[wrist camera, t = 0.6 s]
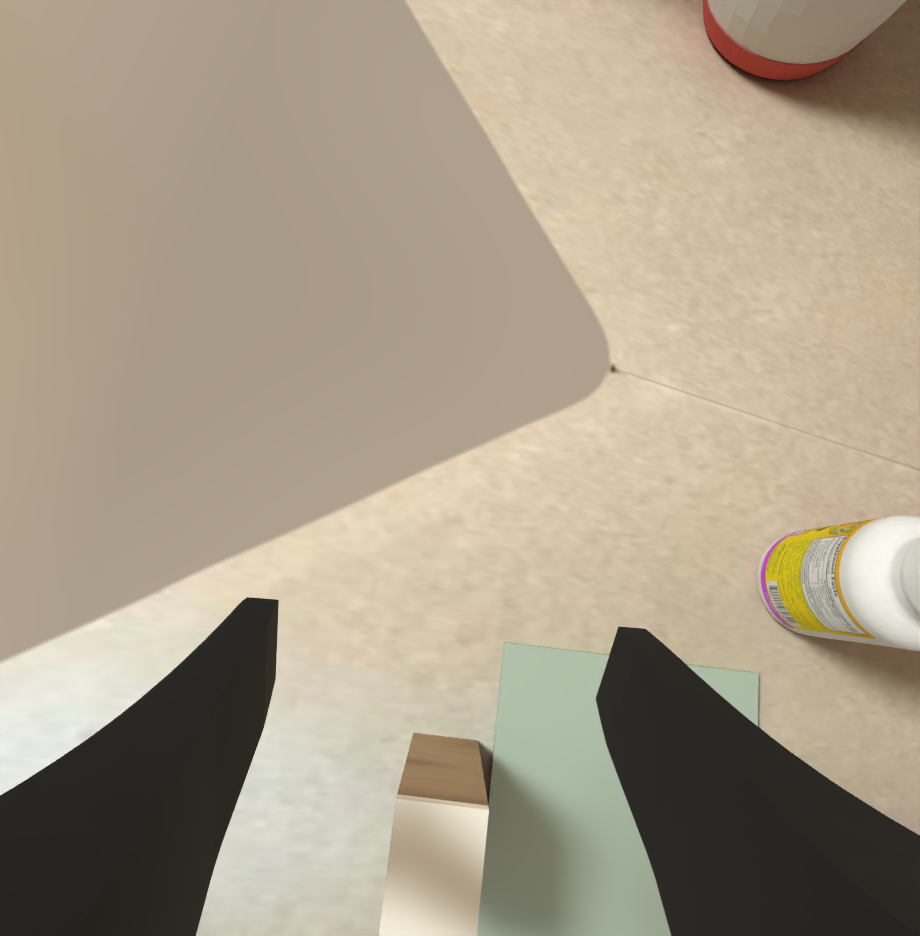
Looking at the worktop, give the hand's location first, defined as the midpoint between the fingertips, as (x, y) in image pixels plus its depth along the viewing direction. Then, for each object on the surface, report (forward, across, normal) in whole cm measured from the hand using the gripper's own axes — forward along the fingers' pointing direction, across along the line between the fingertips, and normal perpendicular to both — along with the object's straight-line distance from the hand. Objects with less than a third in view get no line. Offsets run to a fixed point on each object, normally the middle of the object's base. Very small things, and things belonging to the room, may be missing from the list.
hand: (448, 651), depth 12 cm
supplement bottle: (+20, -26, +10) cm, 34 cm away
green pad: (+13, -15, +22) cm, 30 cm away
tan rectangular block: (+15, -4, +23) cm, 27 cm away
